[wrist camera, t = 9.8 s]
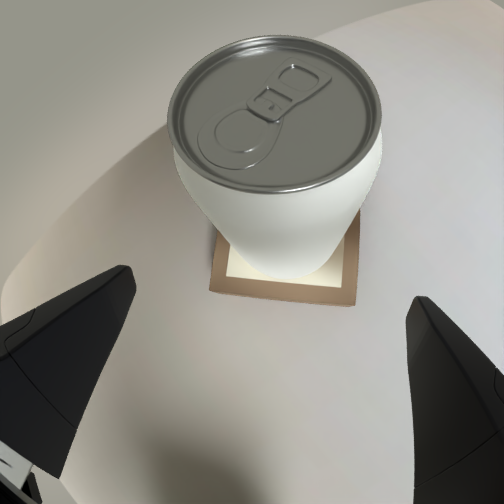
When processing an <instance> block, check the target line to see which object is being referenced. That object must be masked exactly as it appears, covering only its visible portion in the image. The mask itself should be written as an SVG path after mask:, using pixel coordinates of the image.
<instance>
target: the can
mask: <svg viewBox="0 0 504 504" xmlns="http://www.w3.org/2000/svg"><path fill="white" fill-rule="evenodd" d="M381 119H382V110H381V103H380V99H379V95H378V92H377V90H376V88H375V86H374V84H373V82H372V80H371V79H370V77H369V76H368V75H367V73H366V72H365V71H364V70H363V69H362V68H361V67H360V66H359V65H358V64H357V63H356V62H355V61H354V60H353V59H351V58H350V57H349V56H347V55H346V54H344V53H343V52H341V51H339V50H337V49H336V48H334V47H331V46H329V45H327V44H324V43H322V42H319V41H316V40H312V39H308V38H303V37H297V36H289V35H268V36H258V37H253V38H248V39H244V40H240V41H237V42H234V43H231V44H228V45H226V46H223V47H221V48H219V49H217V50H215V51H214V52H212V53H210V54H209V55H207V56H205V57H204V58H203V59H201V60H200V61H199V62H197V63H196V64H195V65H194V66H193V67H192V68H191V69H190V70H189V71H188V72H187V73H186V74H185V75H184V77H183V78H182V79H181V81H180V82H179V84H178V85H177V87H176V89H175V91H174V93H173V95H172V98H171V101H170V104H169V108H168V116H167V125H168V132H169V136H170V139H171V142H172V144H173V150H174V160H175V165H176V168H177V171H178V174H179V177H180V179H181V181H182V183H183V185H184V186H185V188H186V190H187V191H188V193H189V194H190V196H191V197H192V198H193V200H194V201H195V203H196V204H197V205H198V206H199V208H200V209H201V210H202V211H203V212H204V214H205V215H206V216H207V217H208V219H209V220H210V221H211V222H212V223H213V225H214V226H215V227H216V228H217V229H218V230H219V232H220V233H221V234H222V235H223V236H224V238H225V239H226V240H227V241H228V242H229V243H230V245H231V246H232V247H233V248H234V249H235V250H236V251H237V253H238V254H239V255H240V256H241V257H242V258H243V259H244V260H245V261H246V262H247V263H248V264H249V265H250V266H251V267H253V268H254V269H256V270H257V271H259V272H261V273H263V274H265V275H267V276H270V277H273V278H277V279H295V278H300V277H303V276H306V275H308V274H310V273H312V272H314V271H316V270H317V269H319V268H320V267H321V266H322V265H323V264H324V263H325V262H326V261H327V260H328V259H329V258H330V256H331V255H332V253H333V252H334V250H335V249H336V247H337V246H338V244H339V242H340V241H341V239H342V238H343V236H344V234H345V233H346V231H347V229H348V228H349V226H350V224H351V222H352V221H353V219H354V217H355V216H356V214H357V212H358V210H359V208H360V207H361V205H362V203H363V201H364V199H365V198H366V196H367V194H368V192H369V190H370V188H371V186H372V184H373V182H374V179H375V177H376V175H377V172H378V169H379V165H380V161H381V156H382V135H381V129H380V126H381Z"/></svg>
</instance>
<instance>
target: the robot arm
mask: <svg viewBox="0 0 504 504" xmlns="http://www.w3.org/2000/svg"><path fill="white" fill-rule="evenodd" d="M135 293H136V283H135V279H134V276H133V272H132V269H131V268H130V267H129V266H126V265H117V266H115V267H113V268H111V269H109V270H107V271H105V272H103V273H101V274H99V275H97V276H95V277H93V278H91V279H89V280H87V281H85V282H83V283H81V284H79V285H78V286H76V287H74V288H72V289H70V290H68V291H66V292H64V293H62V294H60V295H58V296H56V297H55V298H53V299H51V300H49V301H47V302H45V303H43V304H41V305H40V306H38V307H36V308H34V309H32V310H30V311H29V312H27V313H25V314H23V315H21V316H19V317H17V318H15V319H13V320H11V321H9V322H7V323H5V324H3V325H1V326H0V504H42V499H41V496H40V493H39V489H38V486H37V483H36V479H35V475H34V473H32V472H31V469H32V467H33V465H36V466H37V467H39V468H40V469H42V470H44V471H45V472H47V473H49V474H50V475H52V476H54V477H56V478H57V479H59V478H60V476H61V473H62V470H63V467H64V464H65V461H66V459H67V456H68V453H69V450H70V448H71V445H72V442H73V439H74V437H75V434H76V432H77V430H76V429H78V426H79V424H80V421H81V419H82V416H83V414H84V411H85V409H86V406H87V404H88V402H89V399H90V397H91V395H92V392H93V390H94V388H95V385H96V383H97V381H98V379H99V376H100V374H101V372H102V370H103V367H104V365H105V363H106V361H107V359H108V357H109V355H110V352H111V350H112V348H113V346H114V344H115V342H116V340H117V338H118V336H119V334H120V331H121V329H122V327H123V324H124V322H125V319H126V317H127V314H128V311H129V309H130V306H131V303H132V301H133V298H134V296H135ZM406 338H407V363H408V374H409V382H410V392H411V402H412V414H413V430H414V499H413V504H504V375H503V374H502V373H501V372H500V370H499V369H498V368H496V366H495V365H494V364H493V363H492V362H491V360H490V359H489V358H488V357H487V356H486V355H485V354H484V353H483V352H482V351H481V350H480V349H479V347H478V346H477V345H476V344H475V343H474V342H473V341H472V340H471V339H470V338H469V337H468V336H467V335H466V334H465V333H464V332H463V331H462V330H461V329H460V328H459V327H458V326H457V325H456V324H455V323H454V322H453V321H452V320H451V319H450V318H449V317H448V316H447V315H446V314H445V313H444V312H443V311H442V310H441V309H440V308H439V307H438V306H437V305H436V304H435V303H434V302H433V301H432V300H431V299H430V298H428V297H426V296H416V297H415V298H414V299H413V302H412V304H411V307H410V309H409V311H408V314H407V316H406Z"/></svg>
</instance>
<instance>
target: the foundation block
mask: <svg viewBox="0 0 504 504" xmlns="http://www.w3.org/2000/svg"><path fill="white" fill-rule="evenodd" d="M359 238H360V208H359V210H358V212H357V214H356V216H355V217H354V219H353V221H352V222H351V224H350V226H349V228H348V229H347V231H346V233H345V234H344V236H343V238H342V239H341V241H340V242H339V244H338V246H337V247H336V249H335V250H334V252H333V253H332V255H331V256H330V258H329V259H328V260H327V261H326V262H325V263H324V264H323V265H322V266H321V267H320V268H319V269H317V270H316V271H314V272H312V273H310V274H308V275H306V276H303V277H300V278H295V279H277V278H273V277H270V276H267V275H265V274H263V273H261V272H259V271H257V270H256V269H254V268H253V267H251V266H250V265H249V264H248V263H247V262H246V261H245V260H244V259H243V258H242V257H241V256H240V255H239V254H238V253H237V251H236V250H235V249H234V248H233V247H232V246H231V245H230V243H229V242H228V241H227V240H226V239H225V238H224V236H223V235H222V234H221V233H220V232H219V230H218V232H217V238H216V245H215V251H214V258H213V265H212V272H211V279H210V286H209V290H210V291H213V292H216V293H220V294H227V295H235V296H244V297H252V298H261V299H270V300H279V301H289V302H299V303H309V304H320V305H332V306H344V307H350V306H355V302H356V290H357V277H358V260H359Z"/></svg>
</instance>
